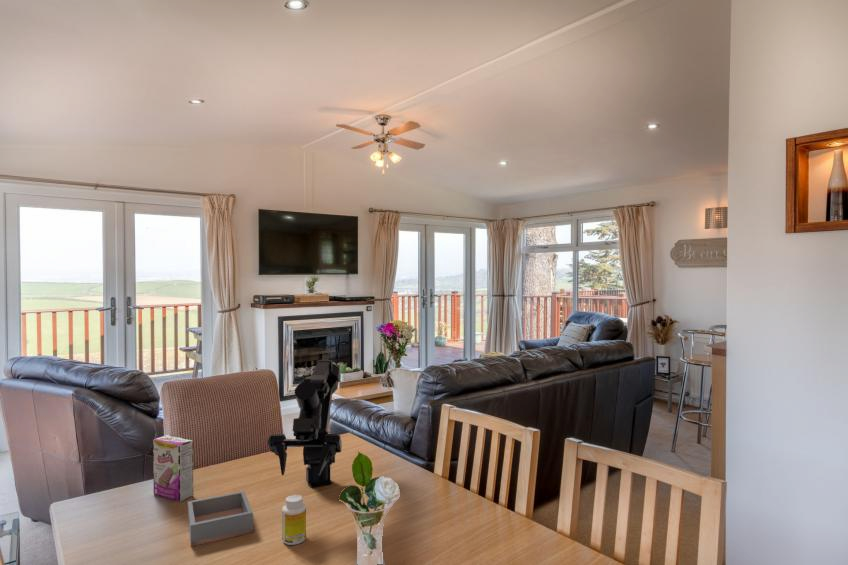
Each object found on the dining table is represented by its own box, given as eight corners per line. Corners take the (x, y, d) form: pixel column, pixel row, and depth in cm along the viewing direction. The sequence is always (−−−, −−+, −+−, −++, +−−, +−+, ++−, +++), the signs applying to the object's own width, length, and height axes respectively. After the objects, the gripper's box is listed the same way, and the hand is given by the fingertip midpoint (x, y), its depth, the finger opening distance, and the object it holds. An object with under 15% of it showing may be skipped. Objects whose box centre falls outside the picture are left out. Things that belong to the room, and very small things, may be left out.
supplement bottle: (310, 540, 122) (310, 498, 122) (288, 548, 118) (288, 505, 118) (299, 531, 126) (299, 490, 126) (278, 539, 123) (278, 497, 123)
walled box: (244, 509, 138) (244, 490, 138) (252, 532, 126) (252, 512, 126) (187, 520, 132) (187, 501, 131) (190, 546, 119) (190, 525, 119)
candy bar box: (152, 495, 146) (151, 439, 146) (167, 488, 151) (167, 434, 150) (179, 503, 142) (179, 444, 141) (194, 496, 146) (194, 439, 146)
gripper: (269, 404, 134) (257, 461, 123) (340, 403, 135) (334, 460, 124) (277, 424, 142) (266, 480, 131) (344, 424, 143) (338, 479, 132)
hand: (300, 474), depth 129 cm, fingers open, 9 cm apart
